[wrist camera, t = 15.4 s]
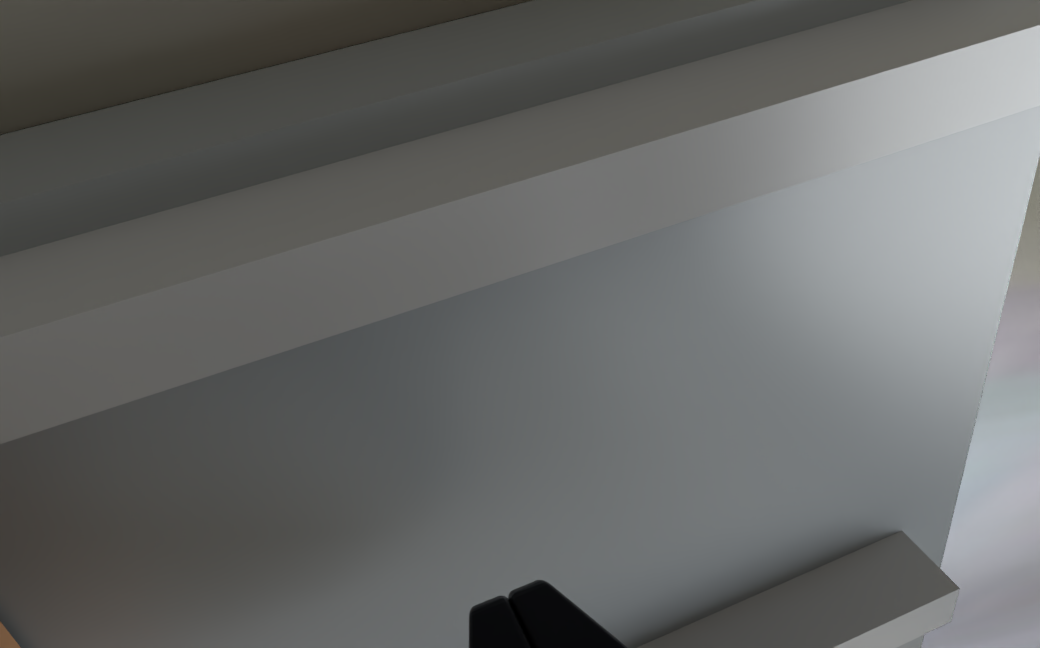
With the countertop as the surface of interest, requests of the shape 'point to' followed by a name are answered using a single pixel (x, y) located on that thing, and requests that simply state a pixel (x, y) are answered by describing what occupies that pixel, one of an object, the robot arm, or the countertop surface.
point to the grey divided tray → (517, 329)
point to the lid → (7, 639)
